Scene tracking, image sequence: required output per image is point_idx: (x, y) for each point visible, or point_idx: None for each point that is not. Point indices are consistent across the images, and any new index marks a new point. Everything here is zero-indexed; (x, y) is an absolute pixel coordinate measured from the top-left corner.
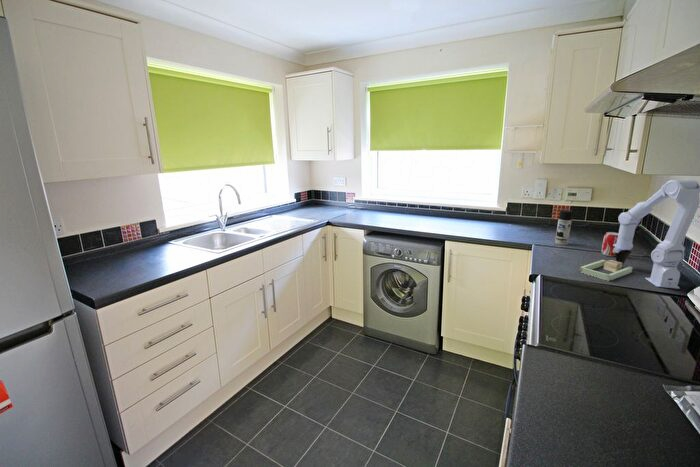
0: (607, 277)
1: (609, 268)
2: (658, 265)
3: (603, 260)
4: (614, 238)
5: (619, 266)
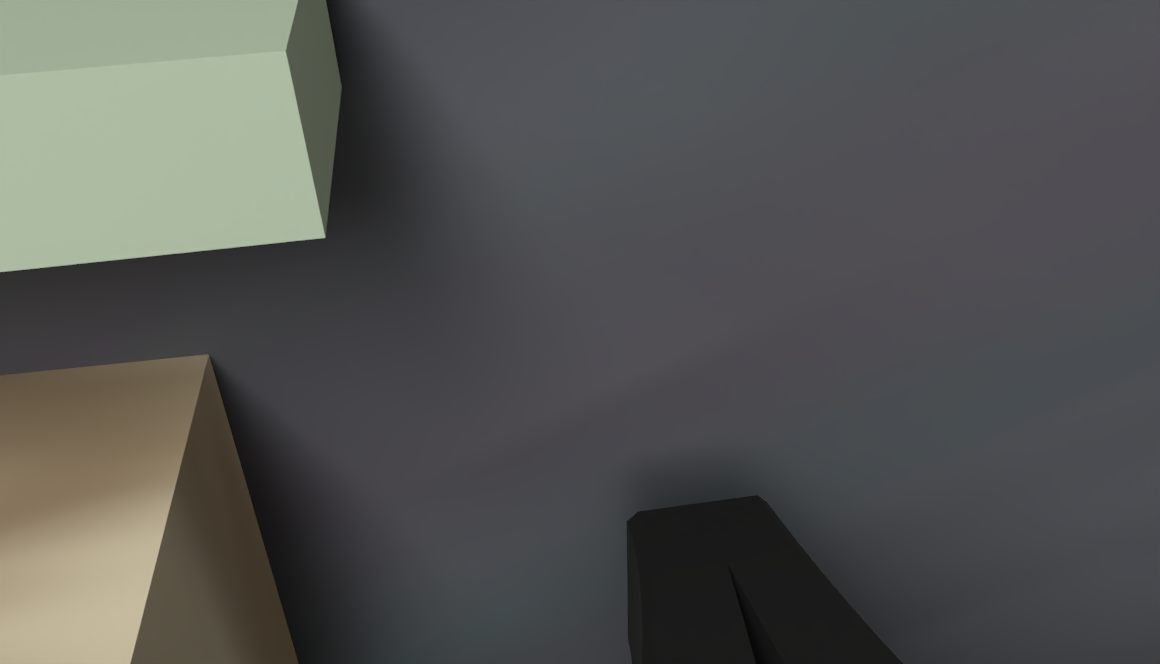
0: None
1: None
2: None
3: (97, 197)
4: None
5: None
